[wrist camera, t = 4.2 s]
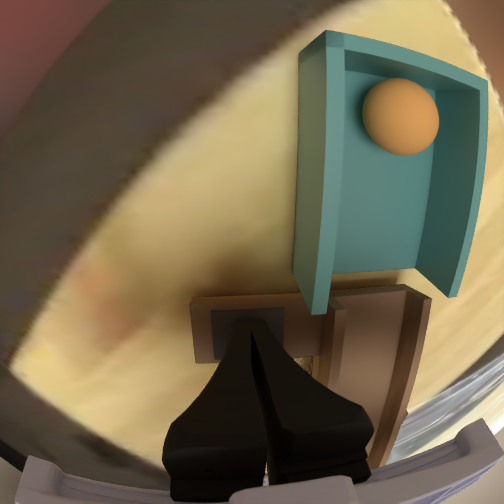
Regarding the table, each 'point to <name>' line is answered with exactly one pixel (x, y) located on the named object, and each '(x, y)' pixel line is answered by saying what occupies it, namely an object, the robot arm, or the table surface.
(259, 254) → the table surface
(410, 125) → the ball
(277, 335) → the lever
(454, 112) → the teal open-ended tray
